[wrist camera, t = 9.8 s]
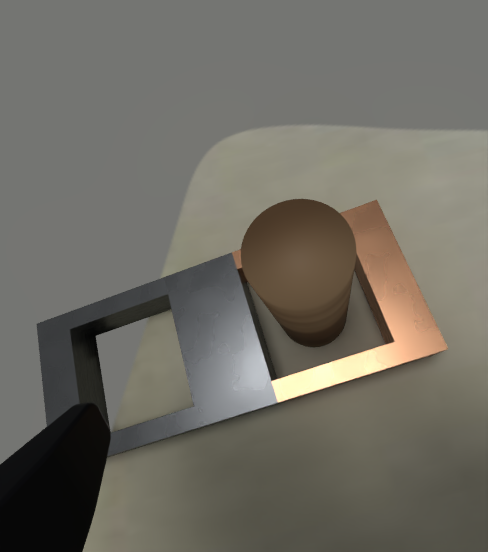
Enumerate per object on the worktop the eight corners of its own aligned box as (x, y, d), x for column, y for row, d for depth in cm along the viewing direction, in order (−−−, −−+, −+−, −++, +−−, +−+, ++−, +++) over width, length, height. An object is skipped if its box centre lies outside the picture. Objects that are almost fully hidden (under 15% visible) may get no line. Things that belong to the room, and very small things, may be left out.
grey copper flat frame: (434, 354, 19) (448, 348, 17) (81, 465, 22) (51, 473, 19) (372, 220, 22) (376, 199, 20) (64, 330, 24) (36, 323, 22)
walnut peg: (356, 334, 21) (375, 283, 11) (292, 355, 21) (259, 322, 12) (332, 274, 22) (331, 183, 12) (272, 295, 22) (227, 222, 13)
